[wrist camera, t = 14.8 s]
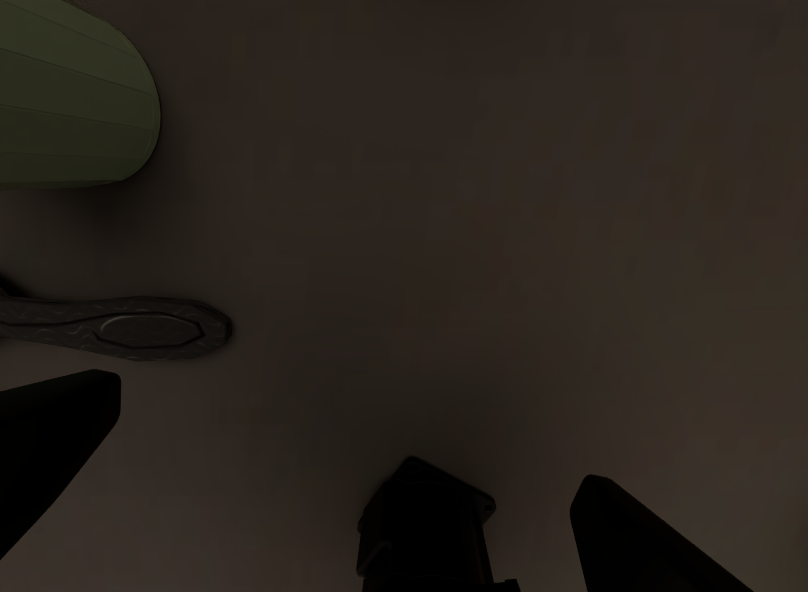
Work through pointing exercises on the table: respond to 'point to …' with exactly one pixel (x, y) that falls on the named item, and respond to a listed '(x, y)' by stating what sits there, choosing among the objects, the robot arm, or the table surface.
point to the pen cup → (71, 98)
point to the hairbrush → (117, 325)
